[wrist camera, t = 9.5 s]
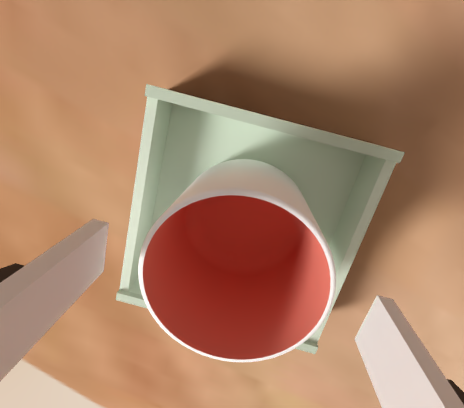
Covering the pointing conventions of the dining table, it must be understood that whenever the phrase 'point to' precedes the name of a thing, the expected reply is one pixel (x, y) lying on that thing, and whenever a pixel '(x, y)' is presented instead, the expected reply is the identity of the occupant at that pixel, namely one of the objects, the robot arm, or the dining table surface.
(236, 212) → the cup
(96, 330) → the dining table surface
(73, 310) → the dining table surface
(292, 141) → the pale green square tray
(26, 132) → the dining table surface
